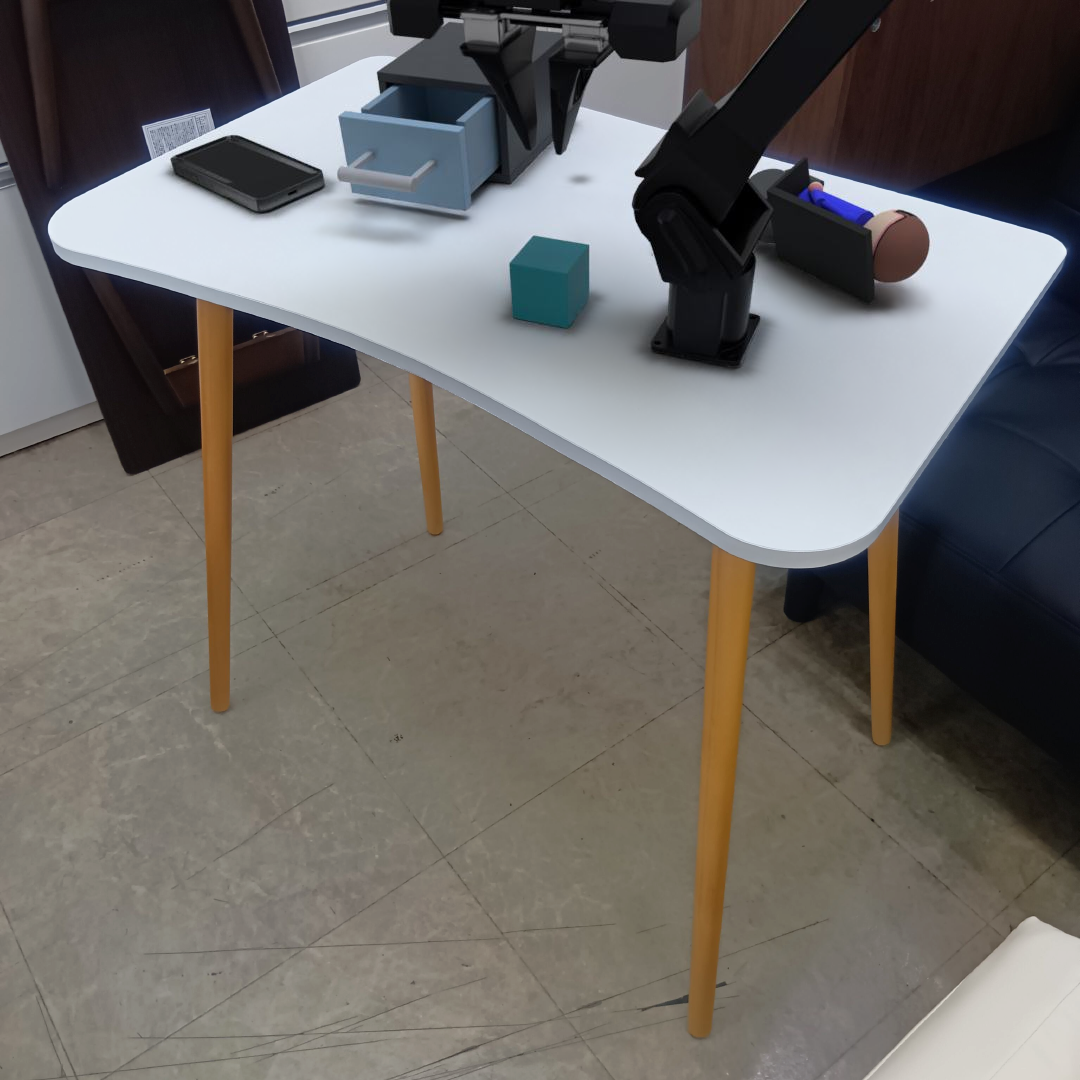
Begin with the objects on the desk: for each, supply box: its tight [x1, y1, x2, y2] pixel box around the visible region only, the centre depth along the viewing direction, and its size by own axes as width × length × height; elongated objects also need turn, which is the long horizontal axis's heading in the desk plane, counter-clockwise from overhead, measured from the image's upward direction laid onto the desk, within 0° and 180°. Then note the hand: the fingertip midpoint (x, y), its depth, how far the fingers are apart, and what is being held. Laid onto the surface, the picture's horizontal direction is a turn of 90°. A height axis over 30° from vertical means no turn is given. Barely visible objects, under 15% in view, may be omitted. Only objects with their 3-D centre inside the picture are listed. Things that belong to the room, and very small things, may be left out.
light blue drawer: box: [336, 83, 501, 212], centre depth 86 cm, size 18×11×7 cm, turn 157°
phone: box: [170, 134, 326, 213], centre depth 91 cm, size 8×1×15 cm
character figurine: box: [749, 156, 931, 306], centre depth 73 cm, size 8×7×15 cm
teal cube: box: [508, 235, 590, 329], centre depth 72 cm, size 4×4×4 cm
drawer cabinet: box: [376, 21, 564, 185], centre depth 93 cm, size 15×13×9 cm
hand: (546, 150), depth 65 cm, fingers closed
